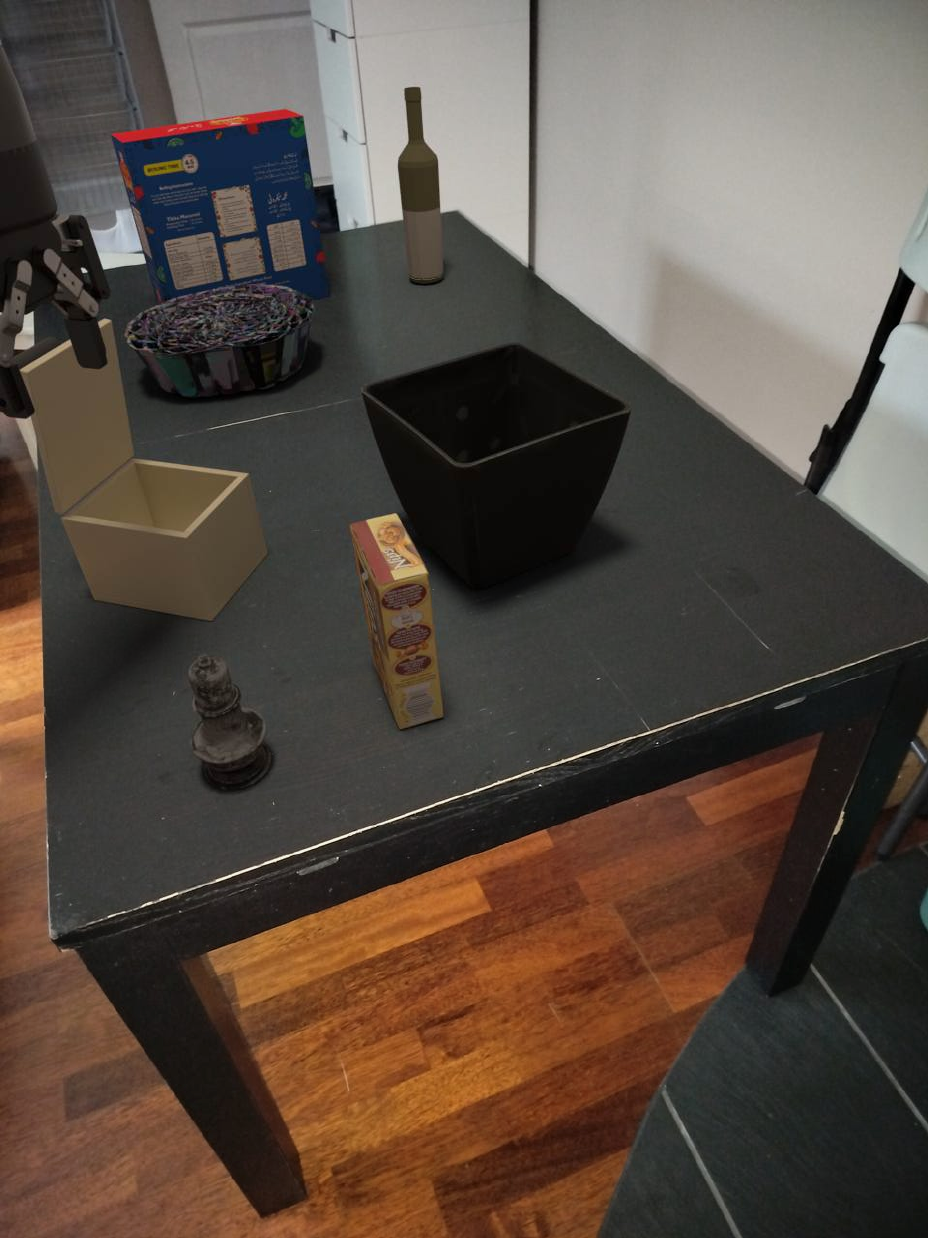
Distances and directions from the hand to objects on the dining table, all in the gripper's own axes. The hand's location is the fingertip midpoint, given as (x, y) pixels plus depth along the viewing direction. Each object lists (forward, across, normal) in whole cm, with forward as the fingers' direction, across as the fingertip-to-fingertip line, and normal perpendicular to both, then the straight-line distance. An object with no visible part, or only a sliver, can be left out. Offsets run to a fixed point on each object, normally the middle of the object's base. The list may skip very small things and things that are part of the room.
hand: (59, 390), depth 63 cm
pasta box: (+25, -85, -35) cm, 95 cm away
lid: (+9, -12, -9) cm, 17 cm away
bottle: (+25, -103, -8) cm, 106 cm away
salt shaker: (+26, +10, +14) cm, 31 cm away
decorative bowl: (+26, -60, -24) cm, 69 cm away
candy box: (+26, -2, +24) cm, 36 cm away
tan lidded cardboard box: (+26, -12, -4) cm, 29 cm away
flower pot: (+26, -25, +26) cm, 44 cm away
